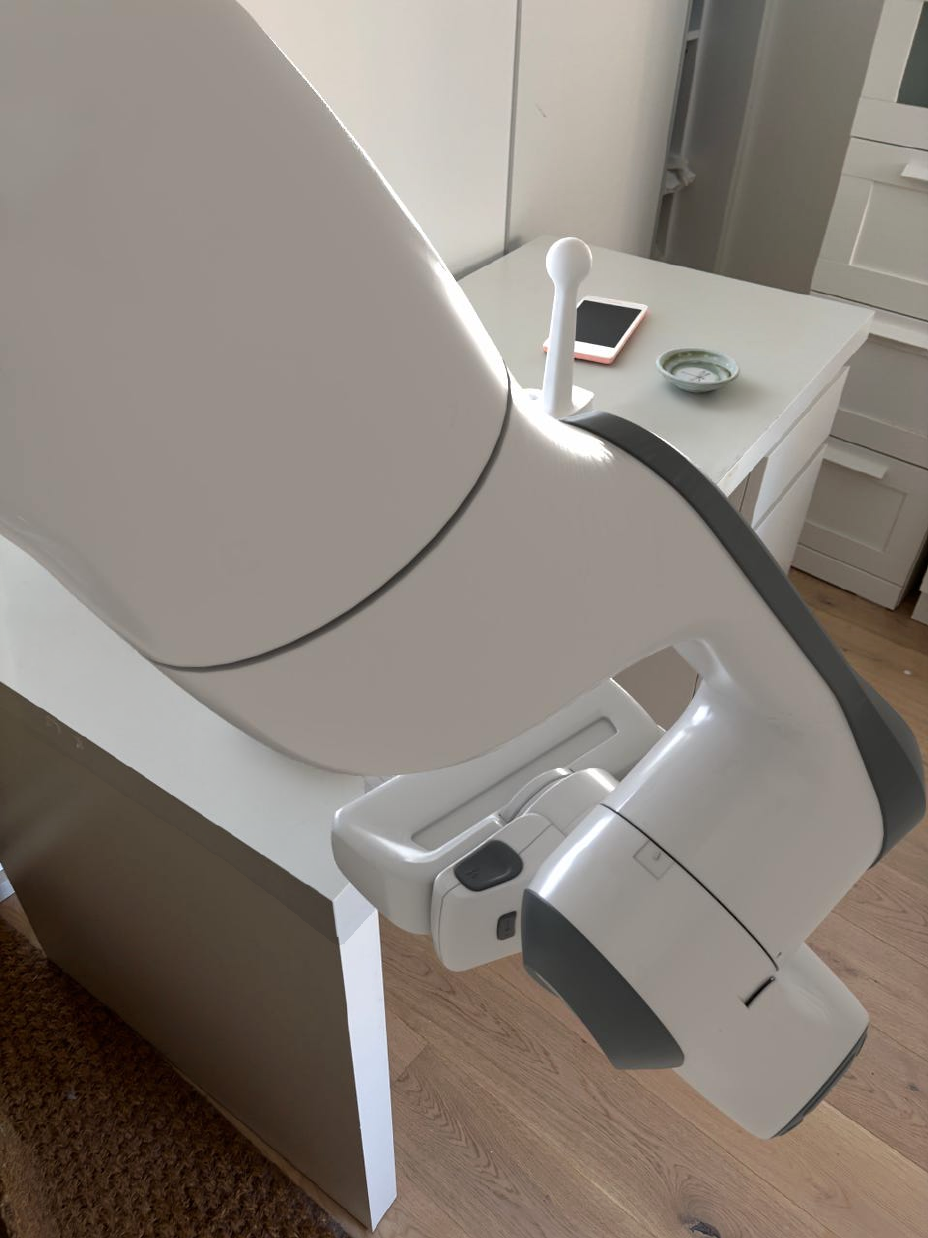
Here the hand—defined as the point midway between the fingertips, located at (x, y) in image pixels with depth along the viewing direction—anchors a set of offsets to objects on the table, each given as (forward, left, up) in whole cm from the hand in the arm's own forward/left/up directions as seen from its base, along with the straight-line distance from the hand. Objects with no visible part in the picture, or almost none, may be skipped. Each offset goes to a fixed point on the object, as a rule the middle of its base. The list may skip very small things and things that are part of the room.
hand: (420, 707), depth 60 cm
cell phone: (+51, +61, -8) cm, 80 cm away
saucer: (+54, +44, -8) cm, 70 cm away
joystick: (+33, +43, -8) cm, 55 cm away
